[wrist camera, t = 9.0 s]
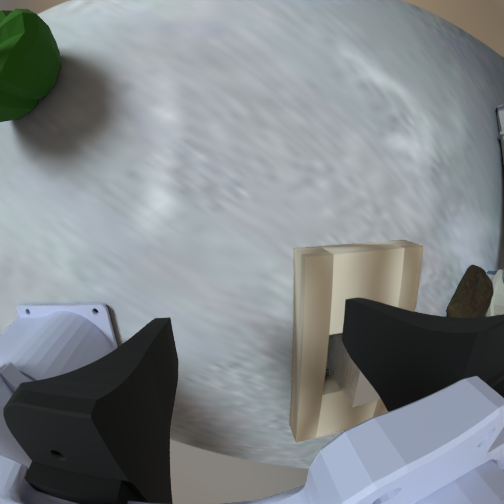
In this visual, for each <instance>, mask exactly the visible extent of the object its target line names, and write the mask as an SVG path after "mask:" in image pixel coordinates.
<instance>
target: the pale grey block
mask: <svg viewBox="0 0 504 504" xmlns="http://www.w3.org/2000/svg"><path fill="white" fill-rule="evenodd" d="M326 367H327V369H328V370H329V372H330V373H331V375H332V376H333V378H334V380H335V381H336V383H337V384H338V386H339V387H340V389H341V390H342V392H343V394H344V395H345V397H346V398H347V400H348V401H349V403H350V404H351V406H352V407H356V406H359V405H362V404H366V403H369V402H372V401H375V400H378V399H381V398H380V397H379V395H378V394H377V392H376V391H375V389H374V388H373V387H372V385H371V384H370V383H369V381H368V380H367V379H366V378H365V376H364V375H363V374H362V372H361V371H360V370H359V368H358V367H357V366H356V364H355V363H354V362H353V360H352V359H351V358H350V356H349V354H348V352H347V350H346V348H345V346H344V344H343V342H342V333H338V334H332V335H329V342H328V352H327V362H326Z"/></svg>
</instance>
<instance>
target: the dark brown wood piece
mask: <svg viewBox="0 0 504 504" xmlns="http://www.w3.org/2000/svg"><path fill="white" fill-rule="evenodd" d="M493 293H494V290H493V283H492V281H491V279H490V278H489V276H488V275H487V274H486V272H485V270H483V269H482V268H480V267H478V266H475V265H471V266H470V267H469V268H468V269H467V271H466V273H465V274H464V276H463V278H462V280H461V281H460V283H459V285H458V288H457V289H456V292H455V294H454V296H453V298H452V299H451V301H450V303H449V305H448V307H447V310H446V311H447V314H448V315H447V317H455V318H477V317H485V315H486V313H487V311H488V308H489V307H490V304H491V300H492V297H493Z"/></svg>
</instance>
